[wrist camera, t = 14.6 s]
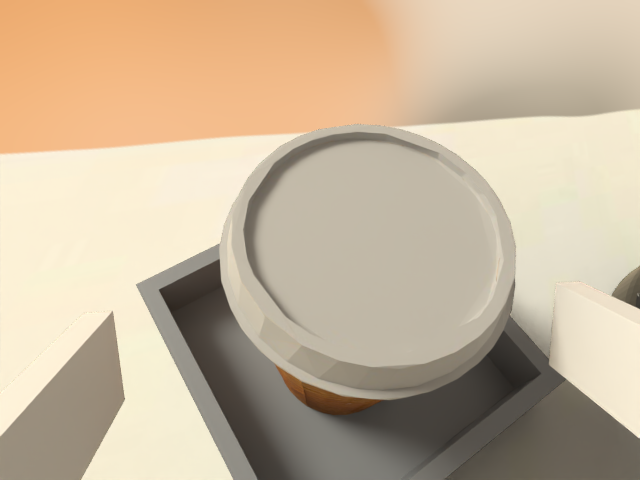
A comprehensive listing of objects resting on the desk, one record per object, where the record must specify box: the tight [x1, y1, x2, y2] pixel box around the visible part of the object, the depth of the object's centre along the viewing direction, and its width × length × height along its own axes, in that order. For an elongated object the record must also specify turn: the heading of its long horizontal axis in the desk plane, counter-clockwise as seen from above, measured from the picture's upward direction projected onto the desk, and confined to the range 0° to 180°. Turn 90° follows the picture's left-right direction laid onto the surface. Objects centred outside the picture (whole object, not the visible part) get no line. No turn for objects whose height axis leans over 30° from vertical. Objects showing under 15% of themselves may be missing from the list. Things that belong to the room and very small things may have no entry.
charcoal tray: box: [136, 244, 566, 480], centre depth 23 cm, size 15×15×4 cm
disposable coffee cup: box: [219, 124, 516, 415], centre depth 19 cm, size 10×10×12 cm
